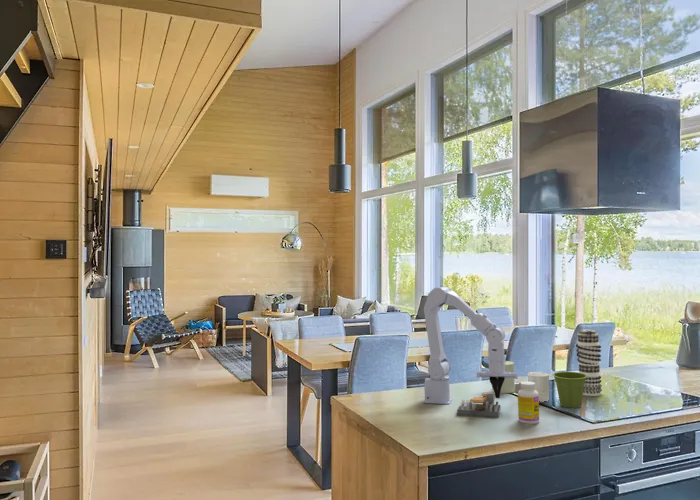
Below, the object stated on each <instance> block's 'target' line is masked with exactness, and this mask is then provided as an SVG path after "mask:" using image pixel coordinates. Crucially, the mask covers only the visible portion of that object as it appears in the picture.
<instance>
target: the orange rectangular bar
mask: <svg viewBox="0 0 700 500" xmlns="http://www.w3.org/2000/svg"><path fill="white" fill-rule="evenodd" d="M485 400H487V397H483V396H474V397H472V398H470V400H469V401H470V402H472V404H483V403H485Z"/></svg>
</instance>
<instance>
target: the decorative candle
mask: <svg viewBox="0 0 700 500" xmlns="http://www.w3.org/2000/svg"><path fill="white" fill-rule="evenodd" d="M576 334H577V342H576V344H575V348H577V349H575V350H576V356H577V359H576V360H577V364H578V373H582V374H586V375H587V378H586V380H585V384H584V390H583V396H585V397H586V396H587V397H588V396H589V397H599V396H602V395H603V394H602V393H603V392H602V391H603V389H602V384H601V383H602V380H601V379H602V376H601V371H600V368H601V367H600V366H601V364H602V363H601V361H602V359H601V357H602V355H601V354H600V353H601V352H602V349H601V348H602V345H600V341H599V338H600V337H599V333H598V331H596V330H595V329H585V328H584V329H580V330H579V331H578V332H577V333H576Z"/></svg>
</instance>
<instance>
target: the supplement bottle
mask: <svg viewBox="0 0 700 500" xmlns="http://www.w3.org/2000/svg"><path fill="white" fill-rule="evenodd" d="M517 405H518V406H517V409H518V411H517V413H518V416H517V417H518V421H519V422H520V423H522V424H527V425H535V424H539V422H540V402H539V394H538V392H537V391H536V390H535V383H534V382H528V381H521V382H520V389H519V390H518V392H517Z"/></svg>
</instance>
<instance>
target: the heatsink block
mask: <svg viewBox="0 0 700 500" xmlns="http://www.w3.org/2000/svg"><path fill="white" fill-rule="evenodd" d="M501 407H502V406H501V404H499V401H495V405H494V402H493V401H492V403H491V405H490V404H489V401H486V404H483V403H473V402H470V400H468V399H467V400H466V401H465V399H462V400H461V402H460V403H459V406H458V408H457V410H456V411H457V412H456V414H457V416H462V417H463V416H466V417H479V418H480V417H481V418H482V417H483V418H498V419H499V417H500V414H501Z"/></svg>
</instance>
